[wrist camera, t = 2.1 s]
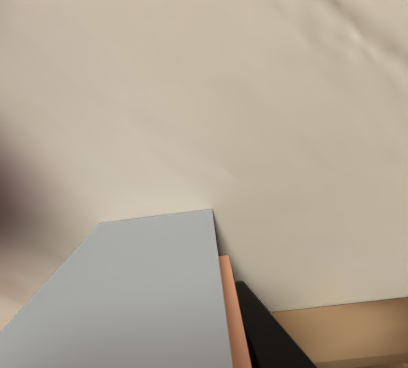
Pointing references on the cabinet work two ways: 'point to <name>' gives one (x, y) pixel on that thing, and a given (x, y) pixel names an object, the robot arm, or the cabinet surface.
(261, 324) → the robot arm
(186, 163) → the cabinet surface
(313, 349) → the wooden block holder
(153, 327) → the grey block
